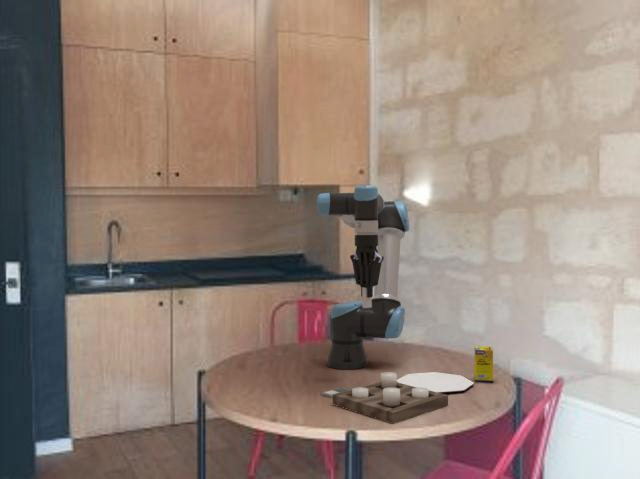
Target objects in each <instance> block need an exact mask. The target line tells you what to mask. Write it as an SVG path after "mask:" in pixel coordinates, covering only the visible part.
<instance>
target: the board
mask: <svg viewBox="0 0 640 479" xmlns="http://www.w3.org/2000/svg"><path fill="white" fill-rule="evenodd" d="M363 387H364V388H367V389H368V397H367V398H363V399H357V398H354V397H352V389H349V391H345V392H341V393H338V394H334V395H333V398H332V405H333V404H335V405H338V406H337V407H339V406H341V407H340V408H342V407H344V408H343V409H345V408H347V409H346V410H348V409H350V410H349V411H351V410H353V411H352V412H355V411H357V412H356V413H358V412H360V413H359V414H361V413H363V414H362V415H364V414H366V415H365V416H367V415H369V416H368V417H371V416H372V417H371V418H374V417H376V418H375V419H377V418H379V419H378V420H380V419H382V420H381V421H383V420H385V421H384V422H387V421H388V422H387V423H390V422H391V423H390V424H396V423H399V422H402V421H406V420H408V419H411V418H414V417H417V416H421V415H423V414H426V413H429V412H432V411H435V410H439V409H441V408H444V407H447V406H449V395H448V394H446V393H437V392H433V391H429V390H428V398H425V399H422V400H421V399H418V398H414V397H412V389H413V388H417V387H413V386H409V385H405V384H401V383H397V387H396V388H398V389H400V405H398V406H386V405H384V404H383V389H384V388H381V381H380V382H376V383H371V384H368V385H365V386H363ZM335 405H334V406H335ZM395 422H396V423H395Z"/></svg>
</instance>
